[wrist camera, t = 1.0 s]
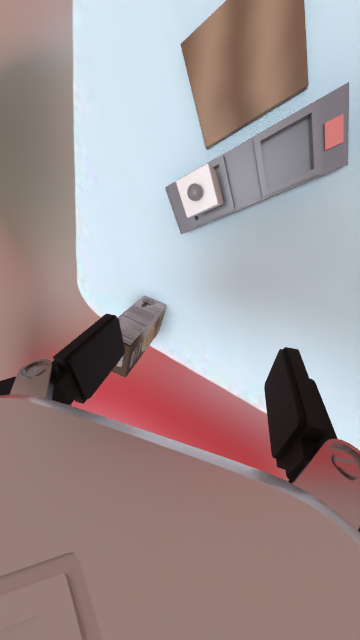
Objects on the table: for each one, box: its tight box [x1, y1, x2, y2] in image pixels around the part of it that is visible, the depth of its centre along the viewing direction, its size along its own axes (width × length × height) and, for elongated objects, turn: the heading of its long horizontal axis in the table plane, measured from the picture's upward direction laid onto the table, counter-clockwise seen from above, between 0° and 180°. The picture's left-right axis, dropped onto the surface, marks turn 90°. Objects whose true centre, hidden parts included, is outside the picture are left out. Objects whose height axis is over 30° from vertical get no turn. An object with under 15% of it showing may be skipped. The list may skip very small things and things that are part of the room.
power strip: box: [165, 82, 349, 234], centre depth 25 cm, size 22×7×4 cm, turn 112°
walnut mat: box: [181, 0, 308, 149], centre depth 21 cm, size 12×10×1 cm
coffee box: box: [112, 296, 166, 377], centre depth 39 cm, size 9×6×16 cm
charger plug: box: [176, 163, 225, 218], centre depth 24 cm, size 4×4×8 cm
